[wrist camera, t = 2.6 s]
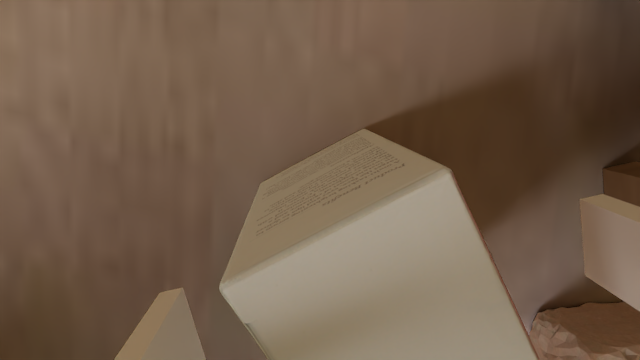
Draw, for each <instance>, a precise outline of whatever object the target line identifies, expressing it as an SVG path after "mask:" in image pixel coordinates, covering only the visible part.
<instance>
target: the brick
mask: <svg viewBox="0 0 640 360" xmlns="http://www.w3.org/2000/svg"><path fill="white" fill-rule="evenodd" d="M529 337H530V339H531V342H532V344H533V346H534V348H535V350H536V352H537V354H538V357H539V359H540V360H640V311H638V310H637V309H635V308H634V307H632V306H631V305H629V304H628V303H626V302H620V303H607V304H602V303H589V302H588V303H585V304H583V305H581V306H578V307H572V308H564V307H560V308H557V309H554V310H545V311H543V312H540V313H537V315H536V317H535V319H534V321H533V325H532V329H531V331H530V336H529Z"/></svg>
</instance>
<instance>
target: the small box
mask: <svg viewBox="0 0 640 360" xmlns="http://www.w3.org/2000/svg"><path fill="white" fill-rule="evenodd" d="M219 290H220V292H221V294H222V295H223V297H224V298H225V300H226V301H227V302H228V304H229V305H230V306H231V307H232V309H233V310H234V312H235V313H236V315H237V316H238V317H239V319H240V320H241V321H242V323H243V324H244V325H245V327H246V328H247V329H248V331H249V332H250V334H251V335H252V337H253V338H254V339H255V341H256V342H257V344H258V345H259V347H260V348H261V350H262V351H263V353H264V354H265V356H266V357H267V359H268V360H540V359H539V357H538V354H537V352H536V350H535V348H534V346H533V344H532V342H531V339H530V337H529V335H528V333H527V331H526V329H525V327H524V325H523V323H522V320H521V318H520V316H519V314H518V312H517V310H516V307H515V305H514V303H513V301H512V299H511V297H510V295H509V293H508V290H507V288H506V286H505V284H504V282H503V280H502V278H501V276H500V273H499V271H498V269H497V267H496V265H495V263H494V261H493V258H492V256H491V254H490V252H489V250H488V248H487V245H486V243H485V241H484V239H483V237H482V235H481V232H480V230H479V228H478V226H477V224H476V222H475V220H474V218H473V216H472V213H471V211H470V209H469V207H468V205H467V203H466V201H465V199H464V197H463V194H462V192H461V190H460V188H459V186H458V184H457V181H456V179H455V176H454V174H453V171H452V170H451V169H449V168H448V167H446V166H445V165H442V164H440V163H438V162H436V161H433V160H431V159H429V158H427V157H425V156H422V155H420V154H418V153H416V152H414V151H412V150H410V149H408V148H405V147H403V146H401V145H399V144H397V143H394V142H392V141H390V140H388V139H386V138H384V137H382V136H379V135H377V134H375V133H373V132H371V131H369V130H367V129H362V130H360V131H358V132H356V133H354V134H352V135H350V136H348V137H346V138H344V139H342V140H340V141H338V142H336V143H334V144H332V145H331V146H329V147H327V148H325V149H323V150H321V151H319V152H317V153H316V154H314V155H312V156H310V157H308V158H306V159H304V160H302V161H301V162H299V163H297V164H295V165H293V166H291V167H289V168H287V169H286V170H284V171H282V172H280V173H278V174H276V175H275V176H273V177H271V178H269V179H267V180H266V181H264V182H262V183H261V184H260V186H259V188H258V191H257V193H256V196H255V198H254V201H253V203H252V205H251V208H250V210H249V213H248V215H247V217H246V220H245V223H244V225H243V228H242V230H241V232H240V235H239V237H238V240H237V243H236V245H235V248H234V250H233V253H232V255H231V258H230V260H229V263H228V265H227V268H226V270H225V273H224V275H223V277H222V280H221V282H220V286H219Z"/></svg>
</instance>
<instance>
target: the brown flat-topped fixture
mask: <svg viewBox="0 0 640 360" xmlns="http://www.w3.org/2000/svg"><path fill="white" fill-rule="evenodd" d="M603 183H604V195H607V196H610V197H613V198H616V199H619V200H621V201H624V202H627V203H630V204H633V205H636V206H639V207H640V162H635V161H634V162H630V163H625V164H621V165H617V166H612V167H608V168H604V169H603Z"/></svg>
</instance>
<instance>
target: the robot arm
mask: <svg viewBox="0 0 640 360" xmlns="http://www.w3.org/2000/svg"><path fill="white" fill-rule="evenodd" d="M579 200H580V213H581V227H582V241H583V254H584V268H585V276H586V277H588V278H589V279H591V280H592V281H594V282H595V283H597V284H598V285H600V286H602V287H603V288H605V289H606V290H608V291H609V292H611V293H612V294H614V295H615V296H617V297H618V298H620V299H621V300H623V301H624V302H626V303H628V304H629V305H631V306H632V307H634V308H635V309H637V310H638V311H640V207H639V206H636V205H633V204H630V203H627V202H624V201H621V200H619V199H616V198H613V197H610V196H607V195H604V194H600V195H596V196H591V197H587V198H582V199H579ZM114 360H206V358H205V355H204V351H203V348H202V345H201V342H200V339H199V336H198V333H197V330H196V326H195V323H194V320H193V317H192V314H191V311H190V308H189V305H188V301H187V298H186V295H185V292H184V289H183V287H182V288H178V289H173V290H169V291H164V292H160V293H159V294H158V296H157V297H156V299H155V300H154V302H153V303H152V305H151V306H150V308H149V309H148V311H147V312H146V313H145V315H144V316H143V318H142V319H141V321H140V322H139V324H138V325H137V327H136V328H135V330H134V331H133V333H132V334H131V335H130V337H129V338H128V340H127V341H126V343H125V344H124V346H123V347H122V349H121V350H120V352H119V353H118V354H117V356H116V357H115V359H114Z"/></svg>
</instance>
